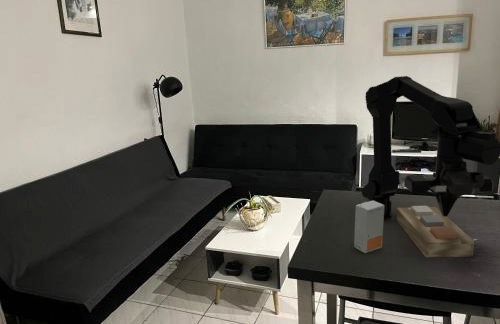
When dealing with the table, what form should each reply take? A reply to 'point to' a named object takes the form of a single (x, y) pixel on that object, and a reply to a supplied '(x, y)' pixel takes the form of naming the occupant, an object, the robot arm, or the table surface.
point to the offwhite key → (421, 210)
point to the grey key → (431, 221)
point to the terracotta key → (443, 232)
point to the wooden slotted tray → (428, 241)
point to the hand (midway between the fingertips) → (444, 215)
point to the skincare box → (369, 226)
